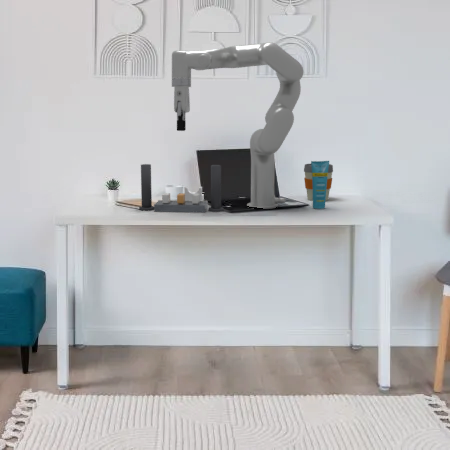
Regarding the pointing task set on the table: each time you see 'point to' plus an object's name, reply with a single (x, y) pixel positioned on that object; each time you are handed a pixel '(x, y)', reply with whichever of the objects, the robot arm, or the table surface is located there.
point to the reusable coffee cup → (309, 181)
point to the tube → (319, 183)
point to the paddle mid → (181, 198)
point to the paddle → (196, 198)
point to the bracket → (189, 194)
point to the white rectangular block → (166, 198)
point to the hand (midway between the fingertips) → (181, 130)
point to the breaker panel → (180, 206)
